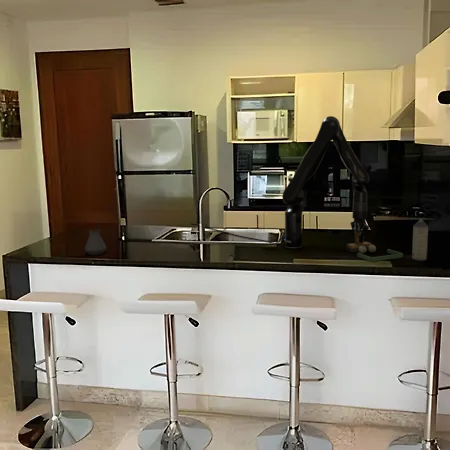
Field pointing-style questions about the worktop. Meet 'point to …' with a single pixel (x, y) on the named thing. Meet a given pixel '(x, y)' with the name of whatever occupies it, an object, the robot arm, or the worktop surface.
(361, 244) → the brown t-shaped block
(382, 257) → the corral
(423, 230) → the aerosol can
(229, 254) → the worktop surface
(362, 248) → the paper ball
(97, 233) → the coffee pot
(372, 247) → the paper ball
